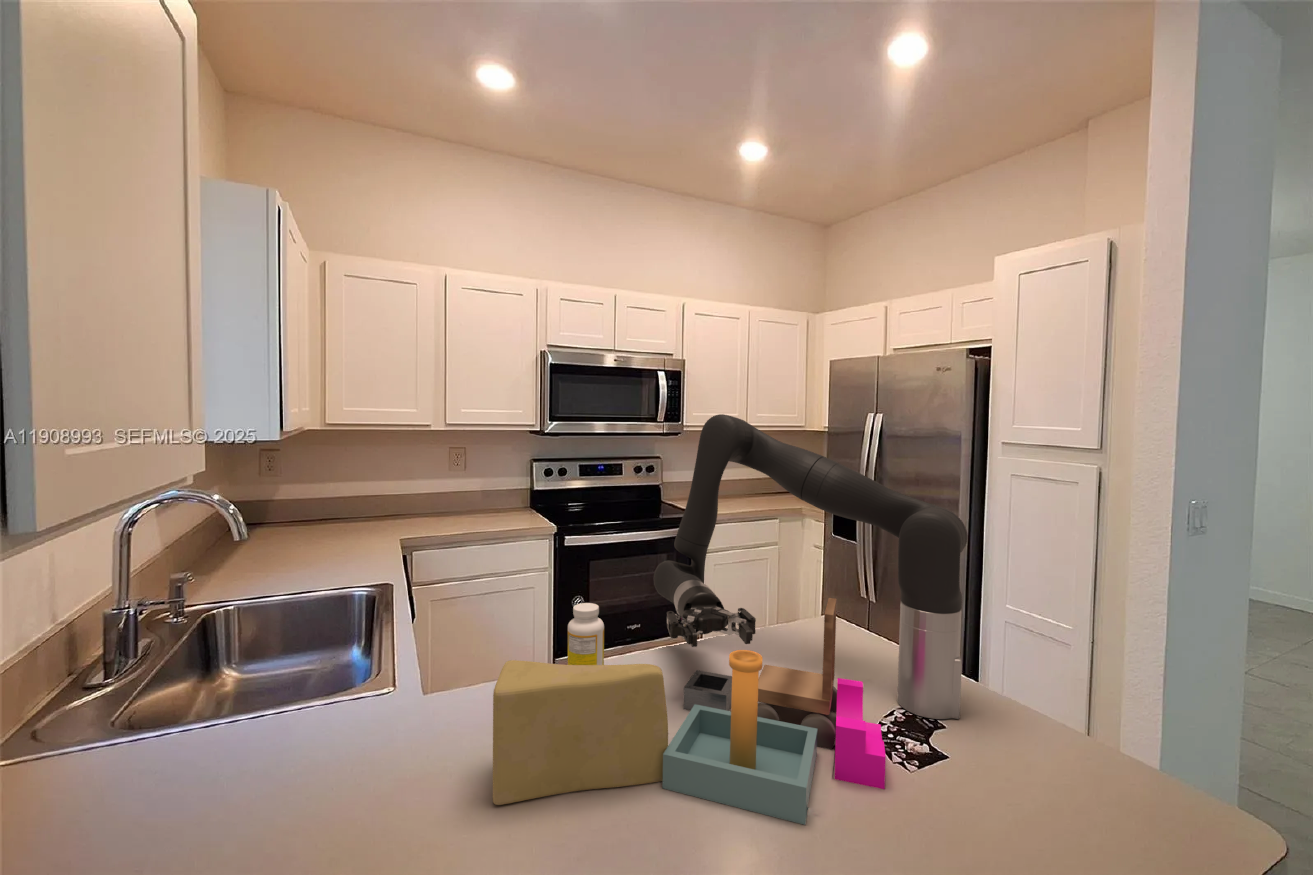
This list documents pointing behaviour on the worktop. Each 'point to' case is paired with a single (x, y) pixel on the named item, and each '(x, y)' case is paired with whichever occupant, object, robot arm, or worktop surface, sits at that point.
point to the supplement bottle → (586, 636)
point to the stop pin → (744, 707)
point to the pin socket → (708, 691)
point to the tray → (769, 789)
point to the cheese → (576, 728)
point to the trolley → (805, 687)
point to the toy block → (857, 739)
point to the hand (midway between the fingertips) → (722, 639)
